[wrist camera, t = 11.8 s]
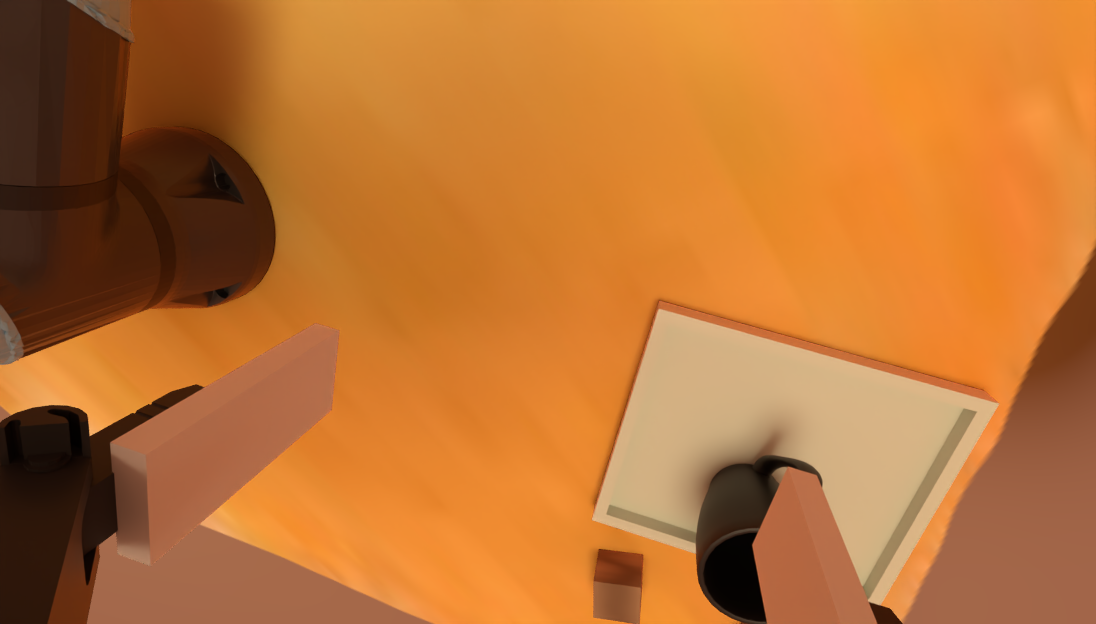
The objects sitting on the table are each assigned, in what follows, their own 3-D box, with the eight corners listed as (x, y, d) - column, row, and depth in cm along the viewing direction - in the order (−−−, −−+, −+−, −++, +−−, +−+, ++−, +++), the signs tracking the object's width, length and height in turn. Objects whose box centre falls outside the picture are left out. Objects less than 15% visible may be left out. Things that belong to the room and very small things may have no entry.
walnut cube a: (598, 582, 54) (593, 617, 50) (599, 548, 52) (593, 581, 49) (641, 588, 53) (639, 624, 49) (643, 554, 52) (640, 587, 48)
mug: (843, 438, 44) (886, 519, 35) (765, 548, 48) (786, 645, 39) (743, 394, 44) (761, 463, 35) (675, 507, 49) (676, 594, 40)
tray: (594, 505, 51) (591, 519, 49) (659, 300, 44) (658, 308, 42) (868, 593, 48) (876, 612, 46) (984, 390, 41) (999, 403, 39)
